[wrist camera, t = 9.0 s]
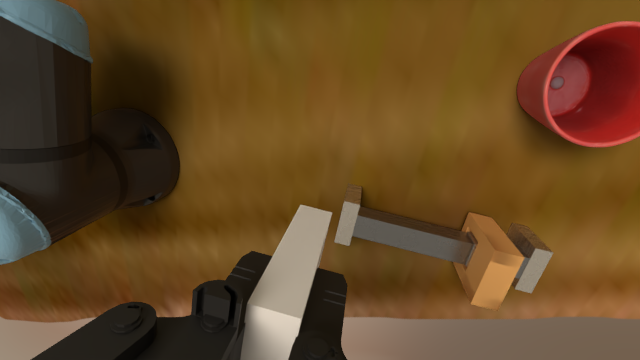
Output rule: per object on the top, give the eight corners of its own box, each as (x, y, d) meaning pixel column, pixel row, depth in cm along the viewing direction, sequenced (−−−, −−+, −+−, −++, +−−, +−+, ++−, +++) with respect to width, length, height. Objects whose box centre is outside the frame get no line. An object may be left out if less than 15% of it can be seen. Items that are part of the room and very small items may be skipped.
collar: (450, 256, 44) (470, 303, 35) (468, 212, 41) (495, 250, 32) (472, 262, 44) (497, 311, 35) (491, 217, 41) (524, 257, 32)
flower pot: (583, 12, 34) (660, -11, 25) (620, 99, 36) (703, 108, 27) (487, 69, 37) (524, 68, 28) (525, 146, 39) (572, 168, 30)
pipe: (339, 219, 46) (334, 242, 40) (348, 183, 44) (344, 201, 38) (509, 262, 44) (531, 293, 38) (527, 226, 42) (553, 252, 36)
